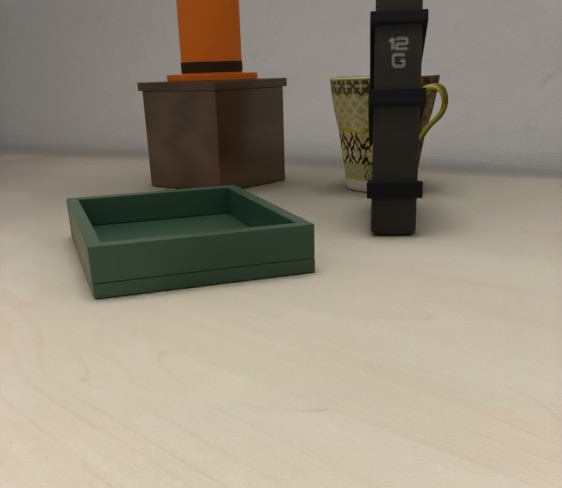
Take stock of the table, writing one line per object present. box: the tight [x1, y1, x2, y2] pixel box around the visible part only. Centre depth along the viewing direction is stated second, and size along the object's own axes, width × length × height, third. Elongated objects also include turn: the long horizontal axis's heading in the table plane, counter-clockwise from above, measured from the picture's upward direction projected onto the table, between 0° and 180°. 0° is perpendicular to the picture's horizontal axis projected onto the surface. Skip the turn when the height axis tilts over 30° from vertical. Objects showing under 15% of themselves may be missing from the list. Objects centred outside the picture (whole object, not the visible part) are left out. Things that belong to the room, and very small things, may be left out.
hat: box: [166, 0, 258, 82], centre depth 68 cm, size 9×9×10 cm
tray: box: [65, 185, 316, 300], centre depth 46 cm, size 17×13×3 cm
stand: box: [136, 77, 288, 189], centre depth 72 cm, size 11×11×10 cm
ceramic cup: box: [329, 73, 449, 193], centre depth 65 cm, size 13×10×10 cm
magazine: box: [366, 0, 430, 236], centre depth 52 cm, size 4×13×15 cm, turn 173°
